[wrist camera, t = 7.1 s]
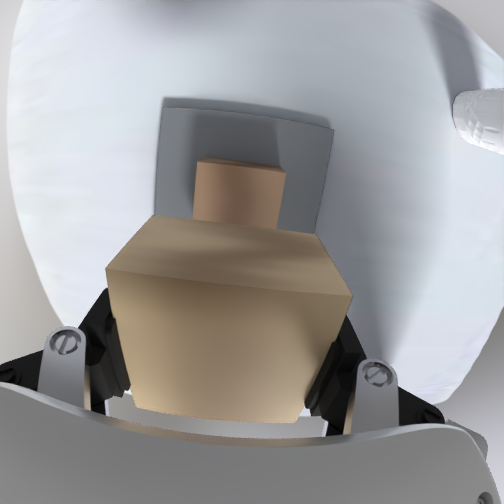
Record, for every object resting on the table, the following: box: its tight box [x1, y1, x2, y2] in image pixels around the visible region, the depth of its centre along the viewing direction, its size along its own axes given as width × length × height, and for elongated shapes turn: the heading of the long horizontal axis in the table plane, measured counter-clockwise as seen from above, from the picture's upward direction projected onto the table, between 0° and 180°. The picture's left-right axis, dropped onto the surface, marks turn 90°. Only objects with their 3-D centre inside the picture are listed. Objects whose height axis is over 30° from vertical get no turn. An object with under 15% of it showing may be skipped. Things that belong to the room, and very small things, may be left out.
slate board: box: [155, 107, 334, 234], centre depth 26 cm, size 16×16×1 cm
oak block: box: [105, 215, 353, 423], centre depth 9 cm, size 6×6×4 cm
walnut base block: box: [193, 157, 286, 229], centre depth 24 cm, size 7×7×4 cm
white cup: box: [453, 88, 504, 155], centre depth 18 cm, size 8×8×10 cm
